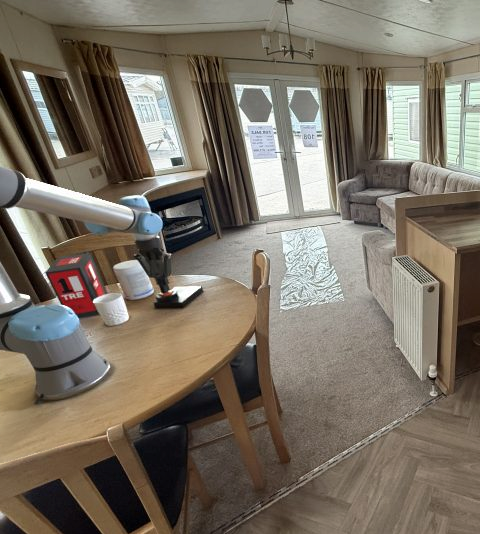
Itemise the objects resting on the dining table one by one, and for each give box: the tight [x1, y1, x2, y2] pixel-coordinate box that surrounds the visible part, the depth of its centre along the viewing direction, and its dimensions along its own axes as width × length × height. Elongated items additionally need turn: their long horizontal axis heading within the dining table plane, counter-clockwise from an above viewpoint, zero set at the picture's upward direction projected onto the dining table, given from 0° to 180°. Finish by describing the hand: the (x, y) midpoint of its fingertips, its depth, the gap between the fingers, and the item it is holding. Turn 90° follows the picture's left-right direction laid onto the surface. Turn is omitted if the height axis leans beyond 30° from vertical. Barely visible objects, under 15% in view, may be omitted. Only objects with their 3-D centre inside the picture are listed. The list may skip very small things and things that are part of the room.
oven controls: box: [152, 285, 204, 309], centre depth 142 cm, size 14×11×4 cm
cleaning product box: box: [44, 252, 109, 319], centre depth 131 cm, size 16×9×20 cm, turn 33°
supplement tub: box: [112, 259, 155, 301], centre depth 142 cm, size 10×10×15 cm
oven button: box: [159, 289, 173, 297], centre depth 138 cm, size 4×4×2 cm
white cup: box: [93, 292, 130, 327], centre depth 125 cm, size 8×8×10 cm
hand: (165, 291), depth 138 cm, fingers closed
